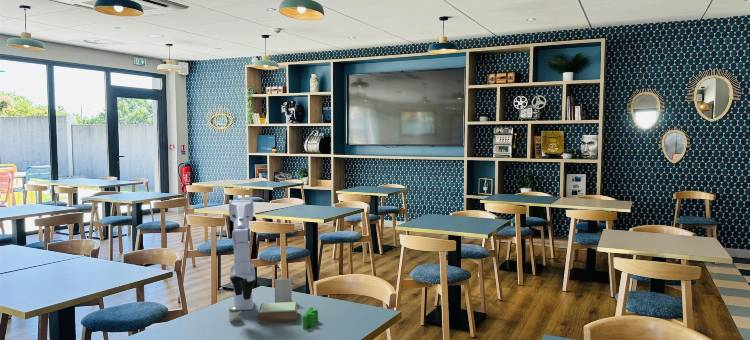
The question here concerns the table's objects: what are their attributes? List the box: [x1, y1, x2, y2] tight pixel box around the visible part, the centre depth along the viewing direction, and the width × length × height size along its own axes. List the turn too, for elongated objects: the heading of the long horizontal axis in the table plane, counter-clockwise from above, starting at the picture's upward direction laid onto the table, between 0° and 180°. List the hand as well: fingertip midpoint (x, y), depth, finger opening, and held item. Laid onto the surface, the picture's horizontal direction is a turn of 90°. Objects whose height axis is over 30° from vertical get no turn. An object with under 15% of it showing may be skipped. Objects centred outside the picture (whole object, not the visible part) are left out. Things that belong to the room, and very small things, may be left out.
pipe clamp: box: [302, 306, 319, 329], centre depth 199 cm, size 11×4×5 cm, turn 173°
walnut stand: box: [257, 301, 298, 324], centre depth 206 cm, size 11×14×4 cm
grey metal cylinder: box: [228, 305, 242, 324], centre depth 203 cm, size 4×4×5 cm
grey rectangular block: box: [274, 278, 293, 303], centre depth 225 cm, size 4×7×10 cm, turn 95°
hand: (242, 297), depth 199 cm, fingers open, 7 cm apart
